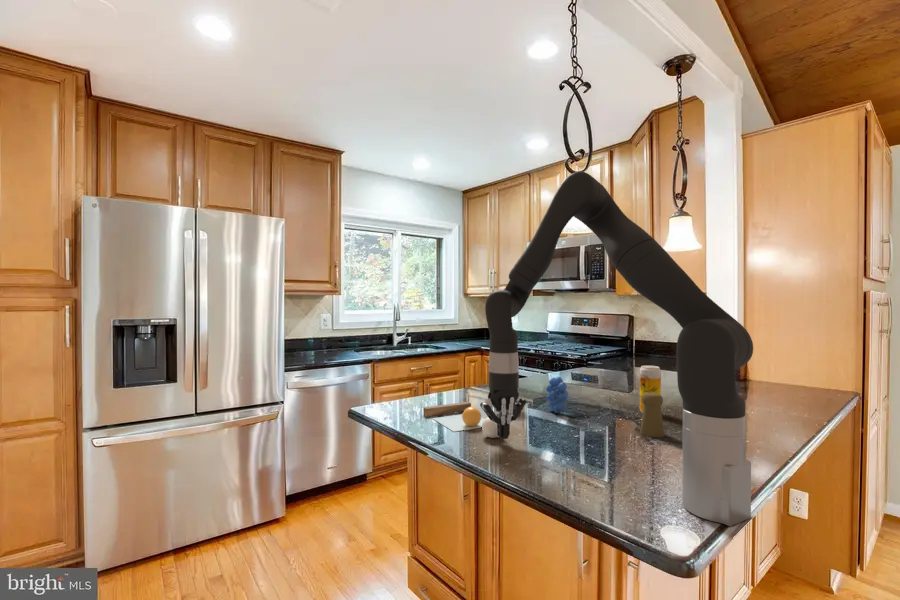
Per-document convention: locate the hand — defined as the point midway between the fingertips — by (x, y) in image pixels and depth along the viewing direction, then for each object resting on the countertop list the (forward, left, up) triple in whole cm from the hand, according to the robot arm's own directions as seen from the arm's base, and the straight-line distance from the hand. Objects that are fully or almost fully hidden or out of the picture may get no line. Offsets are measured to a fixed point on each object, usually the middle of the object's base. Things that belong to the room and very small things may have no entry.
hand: (503, 438), depth 106 cm
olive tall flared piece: (-11, -41, -2) cm, 42 cm away
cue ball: (+6, 0, +1) cm, 6 cm away
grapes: (+16, -32, -2) cm, 36 cm away
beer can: (+3, -58, -2) cm, 58 cm away
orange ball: (+16, 0, +1) cm, 16 cm away
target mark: (+21, 0, -2) cm, 21 cm away
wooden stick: (+32, 0, -2) cm, 32 cm away
